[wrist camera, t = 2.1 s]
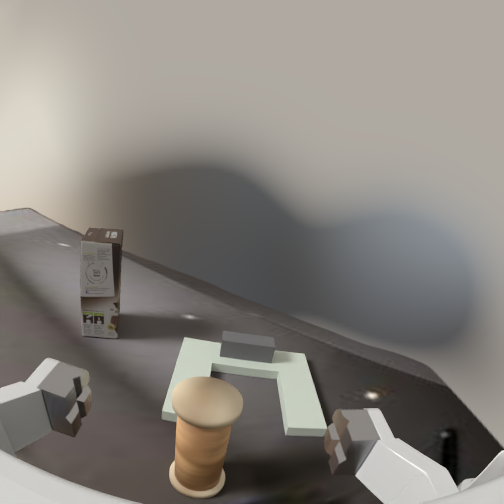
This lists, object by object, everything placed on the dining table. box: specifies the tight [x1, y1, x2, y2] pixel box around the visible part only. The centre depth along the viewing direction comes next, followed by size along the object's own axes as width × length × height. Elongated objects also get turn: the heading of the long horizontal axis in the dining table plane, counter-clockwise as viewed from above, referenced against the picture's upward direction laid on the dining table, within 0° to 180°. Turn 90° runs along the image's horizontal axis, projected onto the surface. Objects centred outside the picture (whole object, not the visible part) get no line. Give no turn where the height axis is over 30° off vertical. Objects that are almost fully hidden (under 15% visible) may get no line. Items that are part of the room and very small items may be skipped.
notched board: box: [162, 331, 327, 436], centre depth 43 cm, size 20×18×4 cm
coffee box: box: [80, 228, 123, 339], centre depth 49 cm, size 9×6×16 cm
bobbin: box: [169, 376, 243, 499], centre depth 25 cm, size 6×6×12 cm
